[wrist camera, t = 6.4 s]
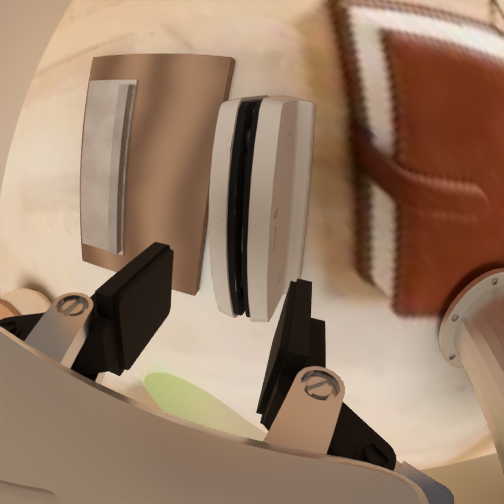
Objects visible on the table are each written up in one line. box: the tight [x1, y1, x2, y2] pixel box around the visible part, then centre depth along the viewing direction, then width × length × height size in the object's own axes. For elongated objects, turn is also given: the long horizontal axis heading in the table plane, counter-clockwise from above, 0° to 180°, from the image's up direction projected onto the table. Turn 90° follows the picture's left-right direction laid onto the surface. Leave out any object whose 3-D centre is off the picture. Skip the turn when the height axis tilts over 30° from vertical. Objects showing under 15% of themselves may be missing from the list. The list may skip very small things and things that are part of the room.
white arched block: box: [209, 95, 315, 322], centre depth 21 cm, size 17×5×10 cm, turn 178°
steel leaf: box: [81, 80, 139, 255], centre depth 25 cm, size 6×17×1 cm, turn 169°
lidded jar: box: [0, 288, 52, 320], centre depth 34 cm, size 11×11×9 cm
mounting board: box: [80, 54, 235, 296], centre depth 26 cm, size 14×22×1 cm, turn 169°
